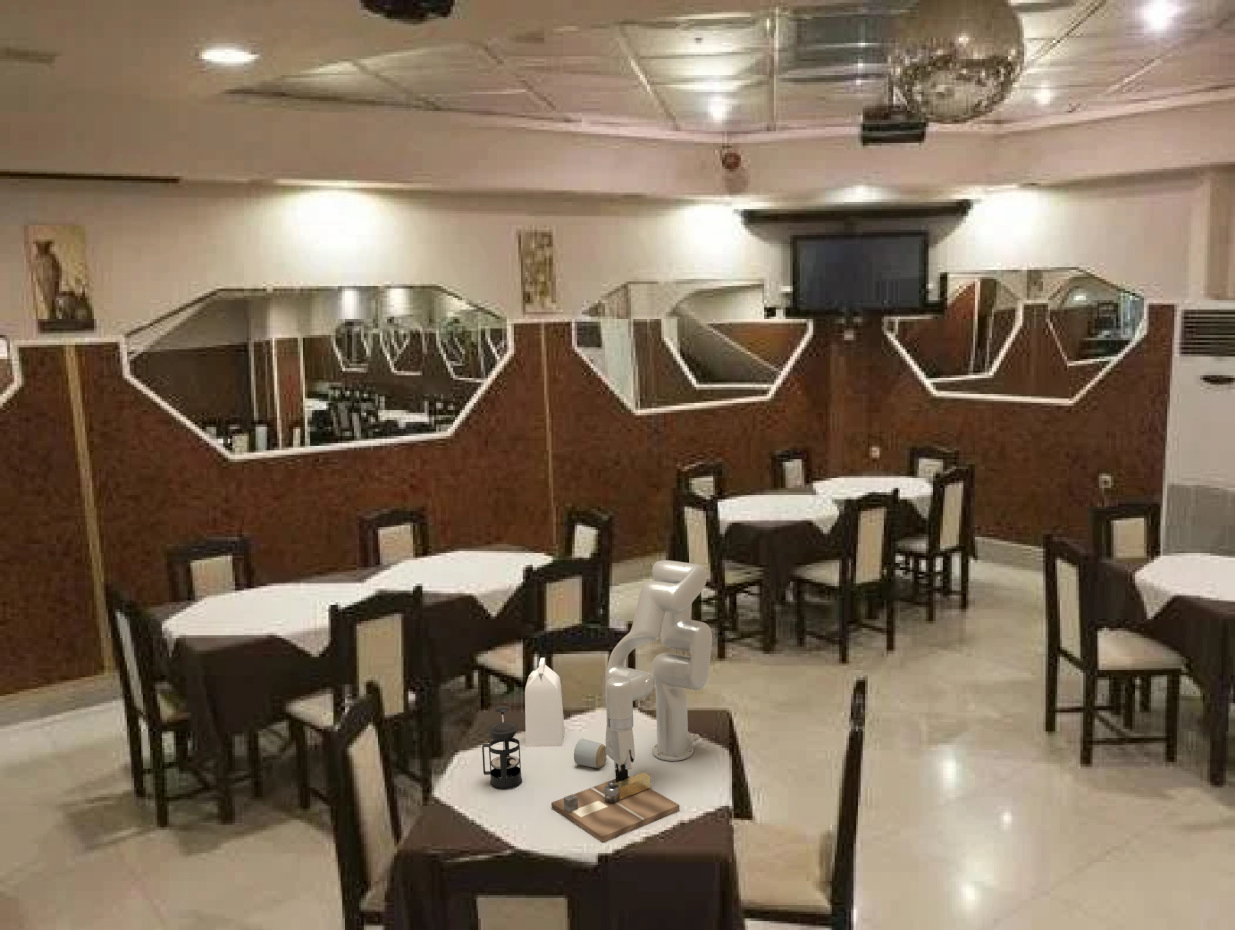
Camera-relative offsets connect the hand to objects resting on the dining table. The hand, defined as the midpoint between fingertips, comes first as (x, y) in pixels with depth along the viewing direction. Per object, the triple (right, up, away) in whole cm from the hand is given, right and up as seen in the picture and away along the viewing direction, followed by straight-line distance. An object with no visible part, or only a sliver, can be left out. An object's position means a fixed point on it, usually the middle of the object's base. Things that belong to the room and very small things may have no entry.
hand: (621, 782), depth 290 cm
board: (-2, -4, -10) cm, 11 cm away
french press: (-34, -3, +8) cm, 35 cm away
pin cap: (-3, +2, -9) cm, 10 cm away
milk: (-24, +2, +38) cm, 45 cm away
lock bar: (+1, -2, -5) cm, 6 cm away
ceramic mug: (-9, 0, +19) cm, 21 cm away
